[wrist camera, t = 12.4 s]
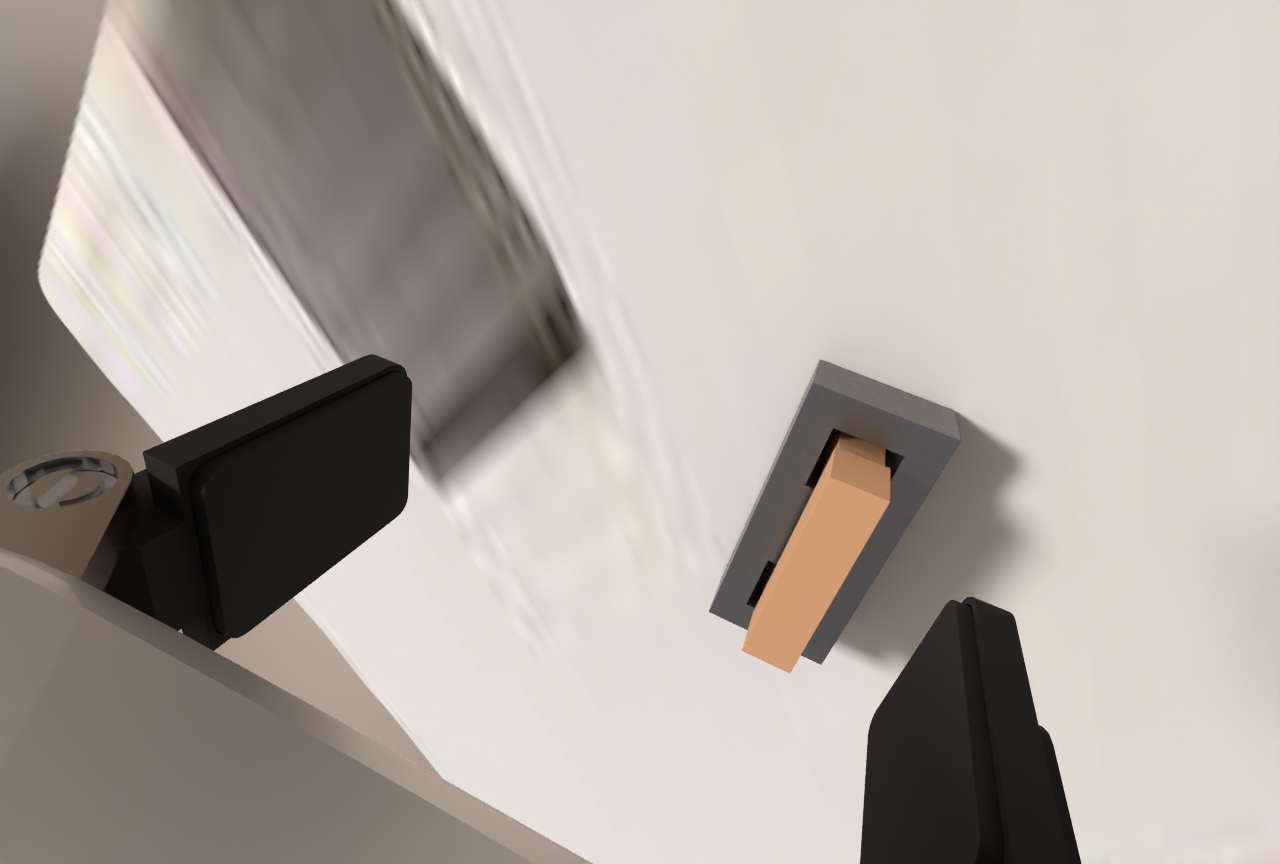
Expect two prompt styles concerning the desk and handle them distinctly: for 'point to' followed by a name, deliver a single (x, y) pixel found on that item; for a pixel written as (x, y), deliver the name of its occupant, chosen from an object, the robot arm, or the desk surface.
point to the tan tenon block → (820, 550)
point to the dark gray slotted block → (830, 401)
